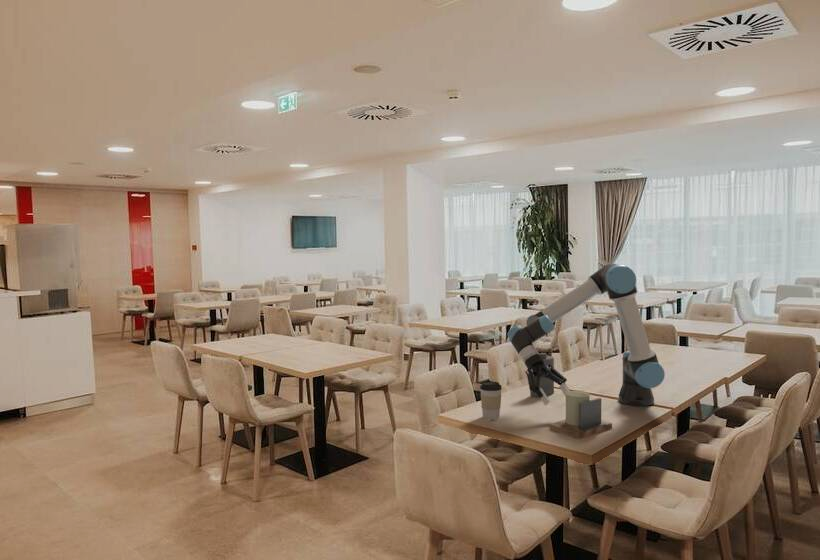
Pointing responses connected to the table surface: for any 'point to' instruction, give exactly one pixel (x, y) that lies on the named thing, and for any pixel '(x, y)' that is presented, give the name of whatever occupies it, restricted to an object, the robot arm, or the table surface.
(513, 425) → the table surface
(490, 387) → the coffee cup
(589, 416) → the bookend
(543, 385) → the flask
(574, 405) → the can
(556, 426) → the shelf board
